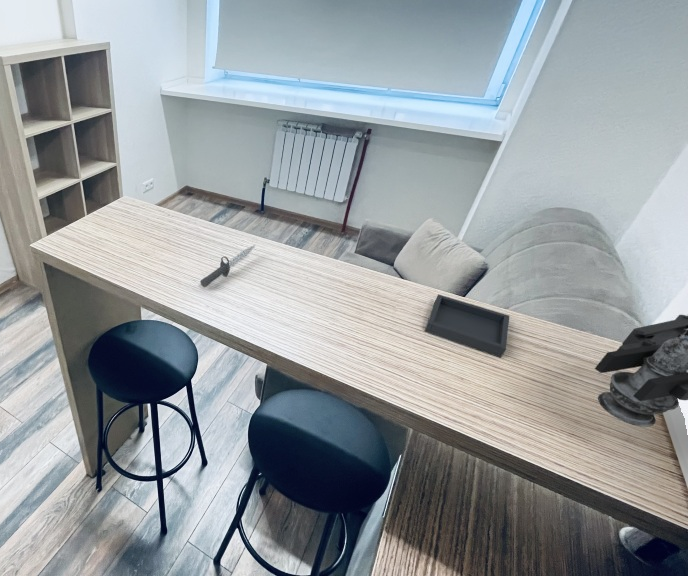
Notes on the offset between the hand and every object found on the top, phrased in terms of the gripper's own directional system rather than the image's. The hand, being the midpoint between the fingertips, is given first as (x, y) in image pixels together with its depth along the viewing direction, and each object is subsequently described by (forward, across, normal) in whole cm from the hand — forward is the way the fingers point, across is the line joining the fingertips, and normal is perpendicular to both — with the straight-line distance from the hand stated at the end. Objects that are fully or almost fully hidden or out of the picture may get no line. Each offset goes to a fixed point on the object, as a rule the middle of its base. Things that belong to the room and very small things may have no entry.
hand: (624, 376), depth 46 cm
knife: (+30, +51, -14) cm, 61 cm away
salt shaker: (-5, 0, -7) cm, 9 cm away
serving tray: (-6, +24, -14) cm, 29 cm away
